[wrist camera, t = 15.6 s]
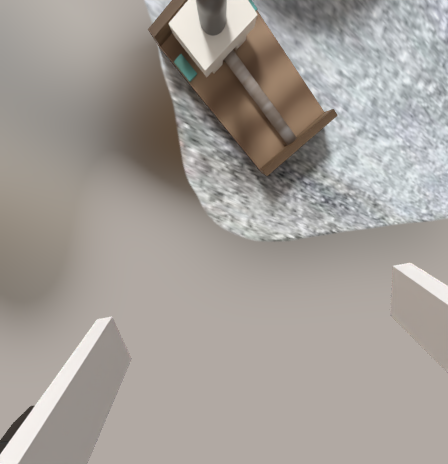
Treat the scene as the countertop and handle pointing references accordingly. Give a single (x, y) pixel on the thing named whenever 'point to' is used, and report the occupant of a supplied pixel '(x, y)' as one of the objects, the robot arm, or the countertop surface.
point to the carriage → (212, 29)
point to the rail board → (241, 100)
